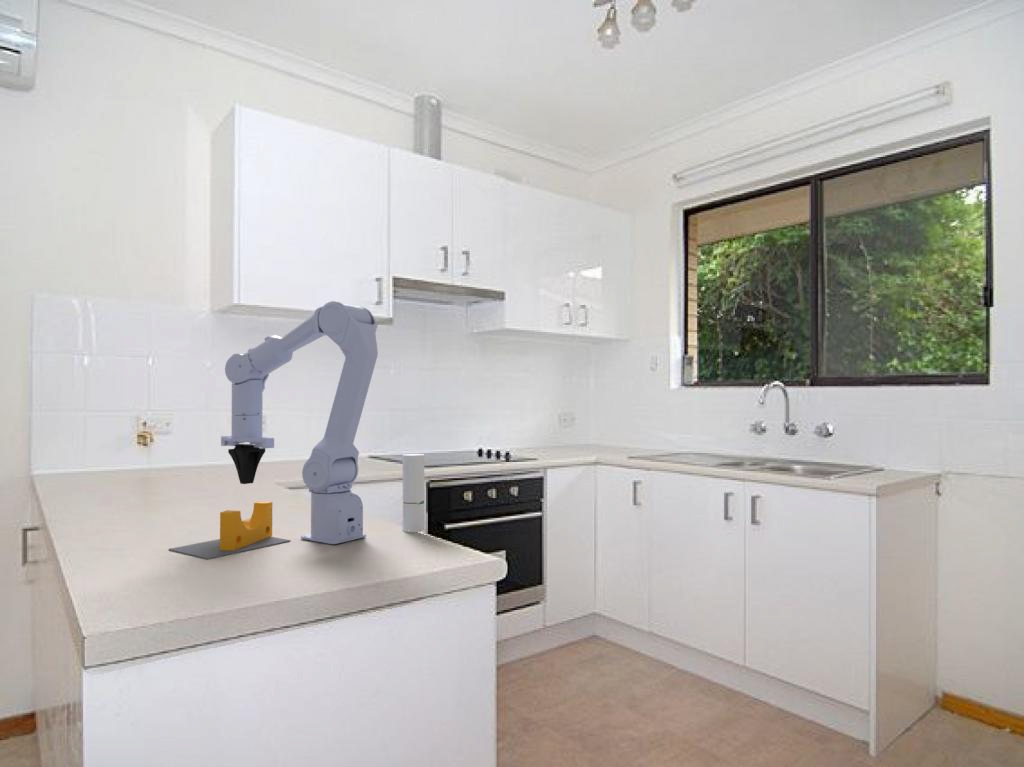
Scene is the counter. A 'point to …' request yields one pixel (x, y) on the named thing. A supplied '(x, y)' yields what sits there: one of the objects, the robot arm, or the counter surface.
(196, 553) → the mat
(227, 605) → the counter surface
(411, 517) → the tube
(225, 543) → the pipe clamp
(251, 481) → the robot arm
